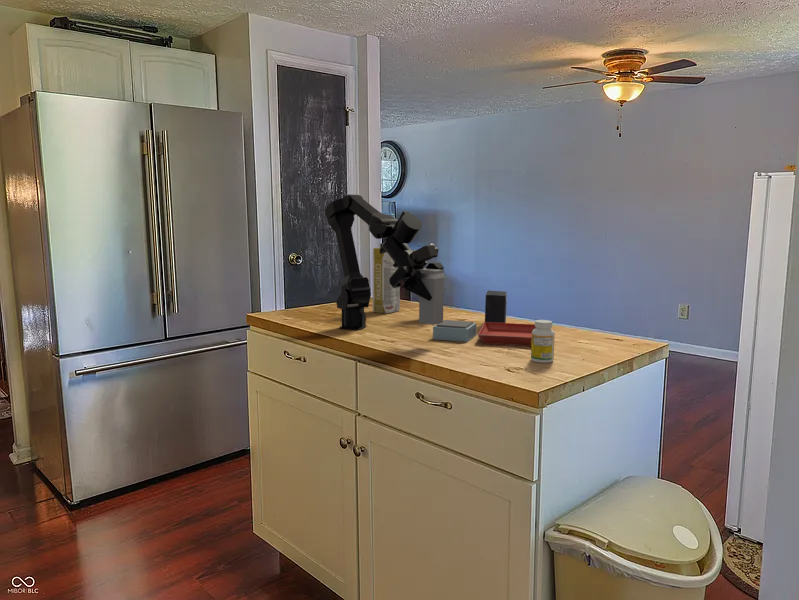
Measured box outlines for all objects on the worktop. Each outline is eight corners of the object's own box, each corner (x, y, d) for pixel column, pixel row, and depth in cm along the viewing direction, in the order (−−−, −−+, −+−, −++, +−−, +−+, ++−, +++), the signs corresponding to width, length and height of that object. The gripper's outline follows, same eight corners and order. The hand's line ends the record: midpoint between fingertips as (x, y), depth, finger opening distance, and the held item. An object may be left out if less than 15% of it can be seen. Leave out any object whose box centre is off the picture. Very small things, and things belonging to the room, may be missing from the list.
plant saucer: (545, 349, 158) (546, 337, 157) (477, 345, 162) (477, 333, 162) (546, 335, 175) (546, 324, 175) (484, 332, 180) (484, 321, 179)
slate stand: (432, 339, 169) (433, 325, 168) (443, 332, 178) (443, 319, 177) (467, 341, 165) (467, 327, 165) (476, 335, 174) (476, 321, 174)
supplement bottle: (547, 364, 141) (548, 324, 139) (526, 360, 144) (527, 321, 143) (557, 360, 145) (559, 321, 143) (537, 356, 148) (538, 318, 147)
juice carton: (385, 308, 221) (385, 243, 218) (402, 310, 217) (403, 244, 213) (369, 312, 214) (369, 244, 210) (387, 314, 209) (387, 245, 206)
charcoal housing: (418, 322, 159) (419, 270, 157) (428, 320, 163) (429, 268, 161) (433, 324, 156) (434, 271, 154) (443, 322, 160) (444, 269, 158)
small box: (505, 329, 184) (506, 295, 182) (484, 328, 185) (484, 294, 183) (506, 323, 194) (507, 290, 192) (486, 322, 195) (486, 290, 194)
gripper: (398, 235, 151) (435, 281, 146) (438, 233, 166) (472, 275, 161) (374, 264, 157) (408, 310, 152) (414, 260, 172) (447, 301, 167)
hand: (435, 298), depth 158 cm, fingers closed on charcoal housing, 5 cm apart
